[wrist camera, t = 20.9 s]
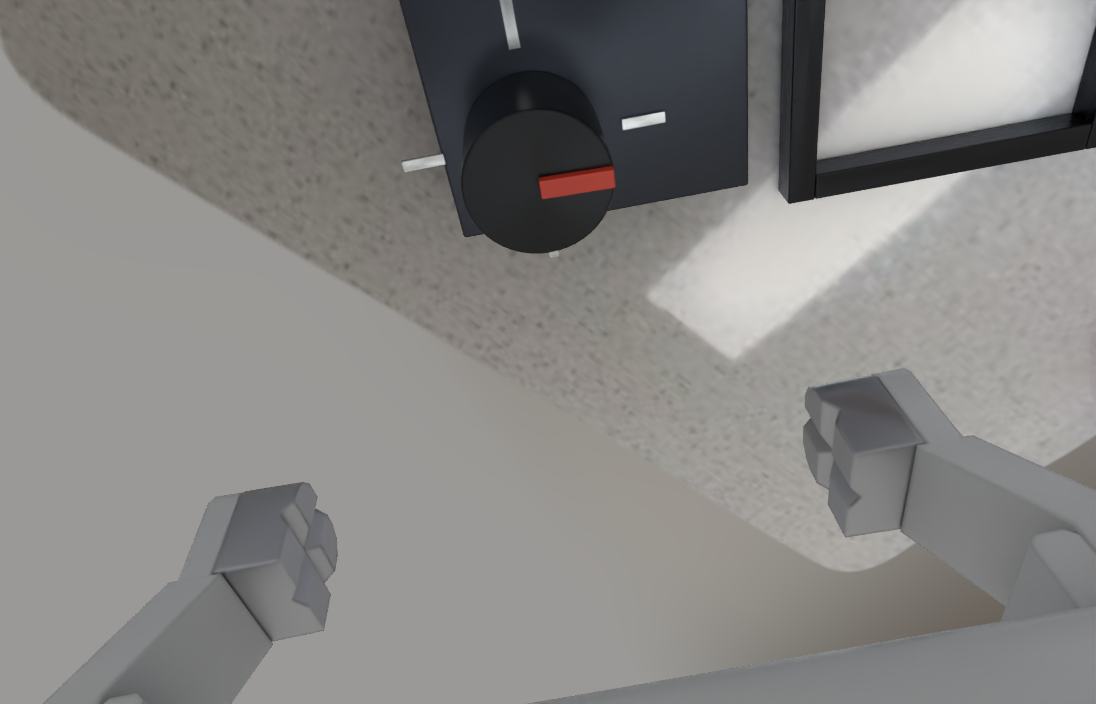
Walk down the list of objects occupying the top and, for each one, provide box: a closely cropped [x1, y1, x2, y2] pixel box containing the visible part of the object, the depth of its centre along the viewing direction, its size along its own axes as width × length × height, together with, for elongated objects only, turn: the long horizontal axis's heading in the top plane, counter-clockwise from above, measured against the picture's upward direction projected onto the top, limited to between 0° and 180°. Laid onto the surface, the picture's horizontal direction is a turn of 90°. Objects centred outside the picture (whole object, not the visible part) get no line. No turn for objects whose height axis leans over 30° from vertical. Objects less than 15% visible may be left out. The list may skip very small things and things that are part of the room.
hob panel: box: [399, 0, 748, 258], centre depth 24 cm, size 11×11×3 cm
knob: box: [461, 72, 616, 253], centre depth 22 cm, size 4×4×4 cm
